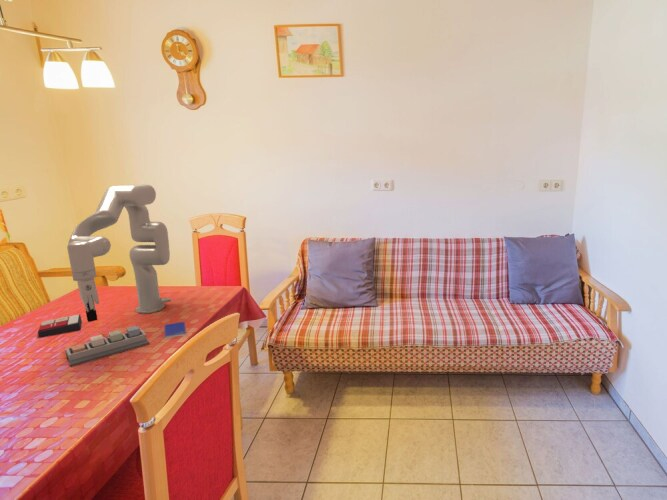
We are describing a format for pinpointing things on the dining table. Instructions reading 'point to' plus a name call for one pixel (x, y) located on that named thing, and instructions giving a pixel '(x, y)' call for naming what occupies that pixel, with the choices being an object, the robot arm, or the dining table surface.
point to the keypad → (106, 348)
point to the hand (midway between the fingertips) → (92, 320)
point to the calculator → (60, 326)
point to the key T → (133, 331)
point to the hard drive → (175, 330)
